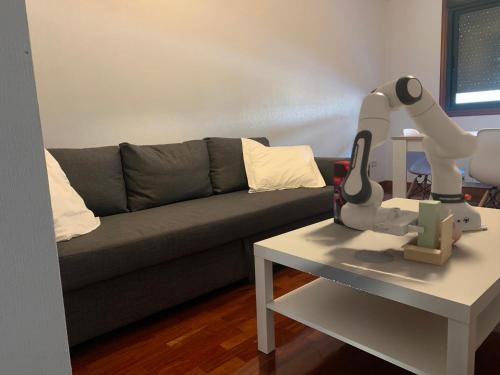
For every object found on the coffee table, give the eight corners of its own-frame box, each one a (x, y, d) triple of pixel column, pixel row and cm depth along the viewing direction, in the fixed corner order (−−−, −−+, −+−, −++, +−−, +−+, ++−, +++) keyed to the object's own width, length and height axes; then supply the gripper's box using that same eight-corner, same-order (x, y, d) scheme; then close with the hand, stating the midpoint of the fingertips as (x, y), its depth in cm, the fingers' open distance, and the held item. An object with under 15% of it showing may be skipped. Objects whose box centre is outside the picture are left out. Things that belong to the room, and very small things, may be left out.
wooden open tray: (400, 262, 124) (401, 218, 122) (418, 248, 137) (419, 208, 135) (438, 269, 117) (440, 223, 115) (453, 254, 130) (455, 212, 128)
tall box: (417, 257, 127) (418, 202, 124) (422, 253, 131) (424, 199, 128) (433, 260, 124) (435, 203, 121) (438, 256, 127) (440, 201, 124)
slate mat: (387, 252, 134) (387, 250, 134) (397, 264, 122) (397, 262, 122) (351, 252, 135) (351, 250, 135) (357, 264, 124) (357, 262, 123)
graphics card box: (332, 222, 177) (332, 161, 172) (345, 220, 179) (345, 160, 175) (356, 231, 161) (357, 164, 157) (370, 228, 164) (371, 163, 159)
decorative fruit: (467, 248, 135) (468, 220, 133) (445, 250, 134) (446, 222, 132) (449, 241, 144) (450, 214, 142) (428, 242, 143) (429, 215, 141)
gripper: (373, 217, 126) (418, 223, 117) (397, 206, 141) (439, 210, 132) (373, 237, 127) (418, 244, 118) (397, 223, 142) (438, 229, 133)
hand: (429, 226), depth 125 cm, fingers open, 8 cm apart
